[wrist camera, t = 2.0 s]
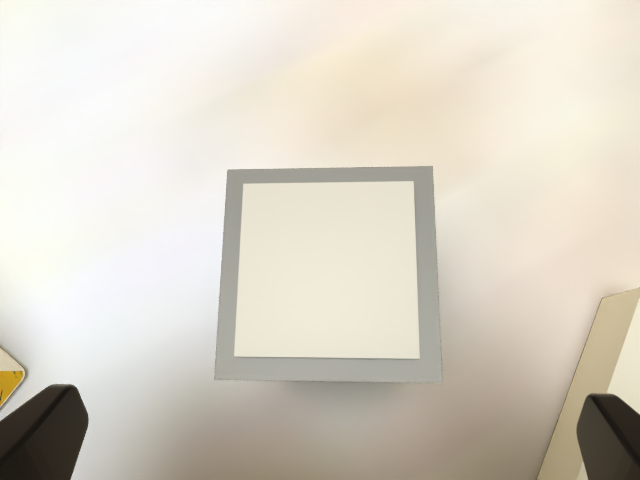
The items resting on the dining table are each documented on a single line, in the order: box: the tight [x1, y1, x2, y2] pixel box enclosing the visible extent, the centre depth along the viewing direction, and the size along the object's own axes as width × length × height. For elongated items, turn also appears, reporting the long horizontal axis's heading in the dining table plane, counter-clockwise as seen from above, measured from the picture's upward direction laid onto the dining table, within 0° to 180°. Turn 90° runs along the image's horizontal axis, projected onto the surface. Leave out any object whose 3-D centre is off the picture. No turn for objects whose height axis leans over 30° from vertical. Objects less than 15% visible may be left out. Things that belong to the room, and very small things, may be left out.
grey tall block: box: [214, 166, 442, 383], centre depth 15 cm, size 4×4×9 cm
